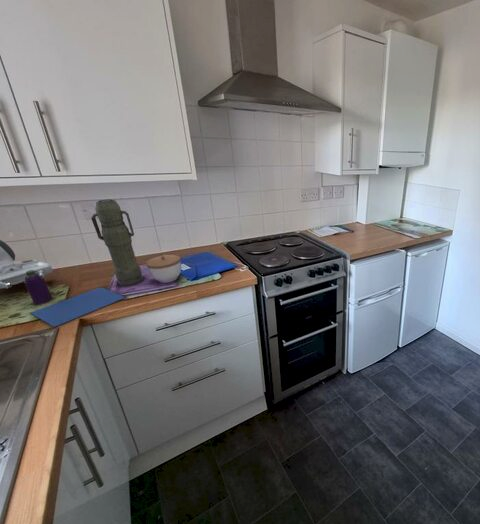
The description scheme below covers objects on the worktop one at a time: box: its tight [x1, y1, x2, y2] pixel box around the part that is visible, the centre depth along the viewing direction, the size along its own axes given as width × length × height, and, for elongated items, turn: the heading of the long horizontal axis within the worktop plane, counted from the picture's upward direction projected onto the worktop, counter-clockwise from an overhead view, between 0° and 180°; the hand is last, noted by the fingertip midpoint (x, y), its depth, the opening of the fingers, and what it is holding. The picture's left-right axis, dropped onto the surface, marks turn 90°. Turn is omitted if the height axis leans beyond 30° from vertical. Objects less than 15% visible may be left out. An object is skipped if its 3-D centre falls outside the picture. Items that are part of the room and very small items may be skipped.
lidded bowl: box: [145, 254, 182, 284], centre depth 129 cm, size 13×13×11 cm
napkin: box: [30, 286, 126, 328], centre depth 111 cm, size 22×18×1 cm
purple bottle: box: [23, 270, 54, 305], centre depth 111 cm, size 5×5×12 cm
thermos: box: [90, 198, 144, 287], centre depth 122 cm, size 9×12×35 cm
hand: (25, 280), depth 115 cm, fingers open, 8 cm apart
